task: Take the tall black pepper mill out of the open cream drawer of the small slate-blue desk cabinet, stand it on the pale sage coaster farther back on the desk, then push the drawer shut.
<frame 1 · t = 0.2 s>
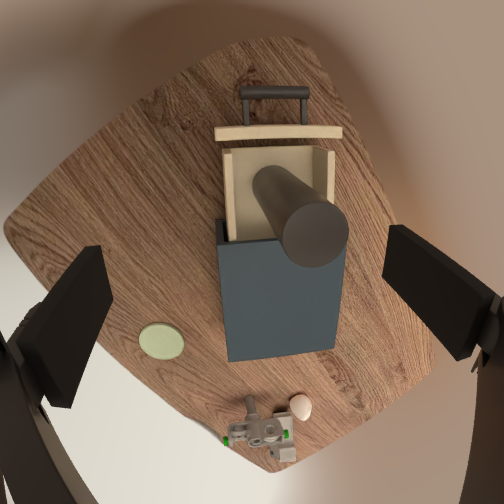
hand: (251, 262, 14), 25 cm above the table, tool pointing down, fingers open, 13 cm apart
cabinet: (271, 271, 42), on the table
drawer: (276, 172, 33), point 4 cm above the table, slide at 10.0 cm, touching pepper mill
mechanical component: (249, 397, 52), on the table
toy gun: (277, 427, 58), on the table
egg: (298, 397, 54), on the table
pepper mill: (272, 185, 36), point 2 cm above the table, touching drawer
coaster: (161, 340, 45), on the table
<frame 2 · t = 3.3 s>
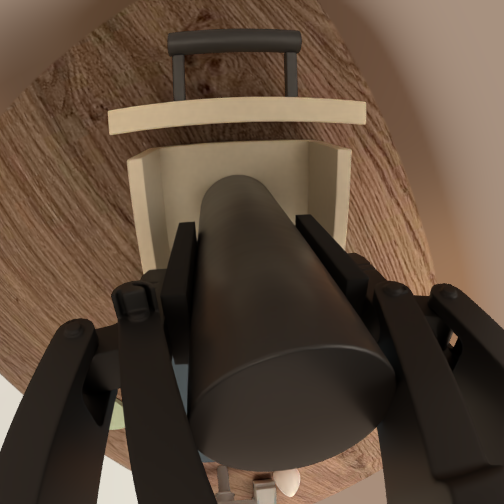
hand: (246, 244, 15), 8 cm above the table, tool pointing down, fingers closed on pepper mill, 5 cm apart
cabinet: (242, 337, 27), on the table
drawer: (238, 190, 18), point 4 cm above the table, slide at 10.0 cm, touching pepper mill
mechanical component: (222, 466, 37), on the table
toy gun: (260, 490, 43), on the table
egg: (284, 465, 39), on the table
pepper mill: (237, 210, 21), point 2 cm above the table, touching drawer, gripper
coaster: (102, 409, 30), on the table
when the fingers open (6 cm above the table, at t = 12.4 s): pepper mill stays where it is, resting on coaster.
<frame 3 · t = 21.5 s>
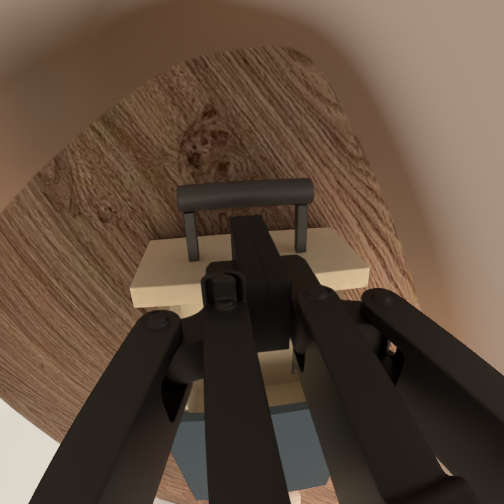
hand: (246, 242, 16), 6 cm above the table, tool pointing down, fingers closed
cabinet: (250, 397, 29), on the table
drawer: (250, 324, 20), point 4 cm above the table, slide at 8.7 cm, touching gripper
egg: (286, 487, 41), on the table
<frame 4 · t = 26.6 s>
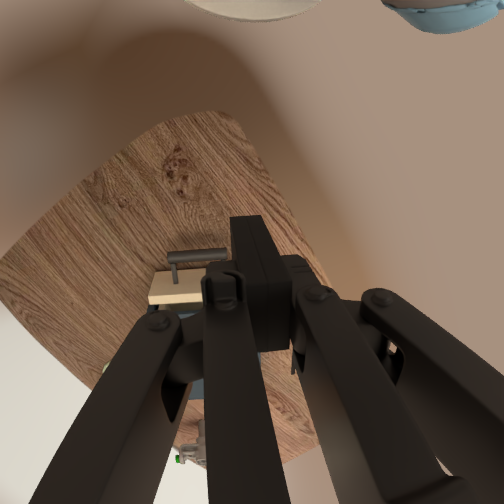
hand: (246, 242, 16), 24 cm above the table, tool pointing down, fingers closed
cabinet: (207, 324, 47), on the table
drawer: (204, 313, 41), point 4 cm above the table, slide at 1.0 cm
mechanical component: (202, 421, 57), on the table
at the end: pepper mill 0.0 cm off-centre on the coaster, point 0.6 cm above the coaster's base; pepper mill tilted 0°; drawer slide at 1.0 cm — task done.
